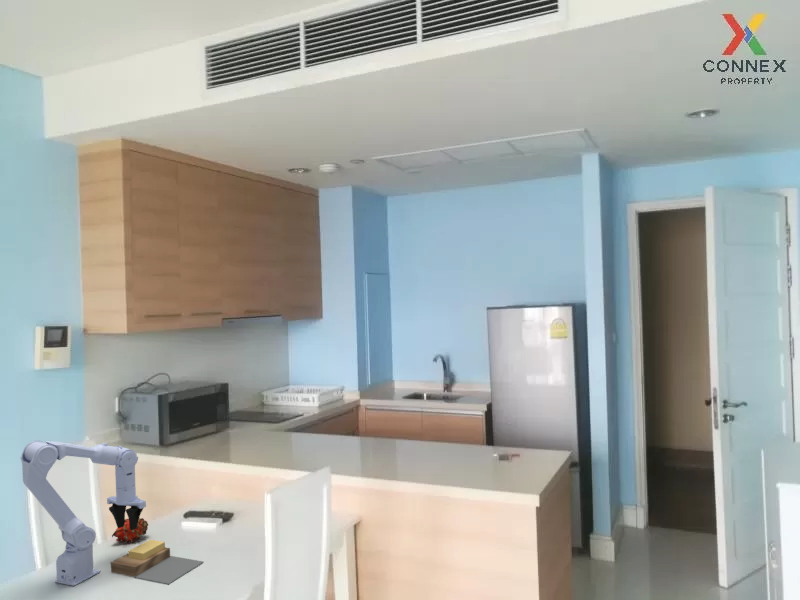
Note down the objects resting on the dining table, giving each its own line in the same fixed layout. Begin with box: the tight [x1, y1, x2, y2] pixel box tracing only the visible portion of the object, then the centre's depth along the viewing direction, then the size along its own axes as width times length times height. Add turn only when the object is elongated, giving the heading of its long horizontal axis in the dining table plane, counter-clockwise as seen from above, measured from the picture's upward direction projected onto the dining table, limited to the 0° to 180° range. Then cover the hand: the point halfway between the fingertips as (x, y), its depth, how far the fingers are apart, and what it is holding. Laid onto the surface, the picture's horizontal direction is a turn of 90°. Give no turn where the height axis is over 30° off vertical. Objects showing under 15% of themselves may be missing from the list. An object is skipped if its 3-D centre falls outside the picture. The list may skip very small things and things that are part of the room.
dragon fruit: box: [111, 517, 149, 543], centre depth 206 cm, size 8×8×12 cm
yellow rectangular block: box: [127, 539, 166, 560], centre depth 189 cm, size 9×6×2 cm, turn 158°
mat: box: [134, 555, 205, 586], centre depth 183 cm, size 15×13×1 cm
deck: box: [110, 546, 171, 578], centre depth 187 cm, size 14×10×3 cm
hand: (127, 527), depth 192 cm, fingers open, 5 cm apart
